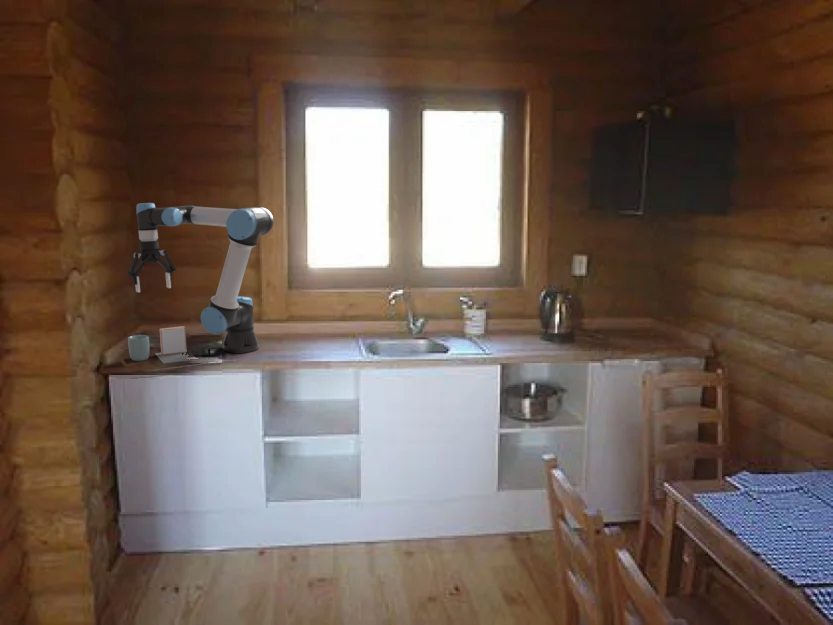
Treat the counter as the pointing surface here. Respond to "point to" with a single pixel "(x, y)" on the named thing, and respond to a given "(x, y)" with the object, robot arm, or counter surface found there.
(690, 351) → the counter surface
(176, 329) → the tile
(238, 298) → the robot arm
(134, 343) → the cup
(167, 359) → the mat
